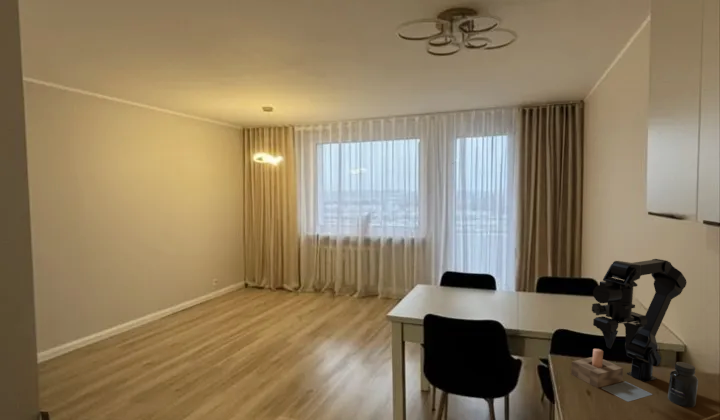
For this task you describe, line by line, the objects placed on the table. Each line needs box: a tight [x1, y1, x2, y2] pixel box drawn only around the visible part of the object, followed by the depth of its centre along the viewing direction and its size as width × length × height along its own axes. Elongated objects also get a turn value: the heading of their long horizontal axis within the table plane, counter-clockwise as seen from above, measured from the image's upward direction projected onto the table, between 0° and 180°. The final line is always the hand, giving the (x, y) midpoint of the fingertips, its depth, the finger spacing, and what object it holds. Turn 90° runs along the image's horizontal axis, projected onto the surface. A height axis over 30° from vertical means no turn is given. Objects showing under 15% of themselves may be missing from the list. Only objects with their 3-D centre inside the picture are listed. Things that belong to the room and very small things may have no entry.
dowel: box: [592, 348, 604, 368], centre depth 143 cm, size 3×3×10 cm
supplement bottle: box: [667, 361, 699, 408], centre depth 129 cm, size 7×7×12 cm
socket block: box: [570, 356, 624, 389], centre depth 144 cm, size 12×10×5 cm
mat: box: [601, 381, 653, 402], centre depth 135 cm, size 12×9×1 cm
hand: (618, 346), depth 139 cm, fingers open, 9 cm apart
